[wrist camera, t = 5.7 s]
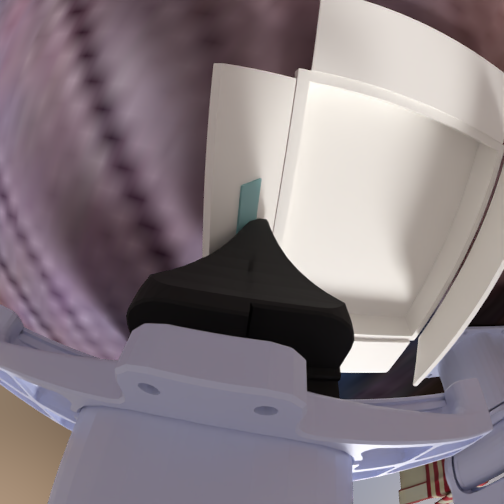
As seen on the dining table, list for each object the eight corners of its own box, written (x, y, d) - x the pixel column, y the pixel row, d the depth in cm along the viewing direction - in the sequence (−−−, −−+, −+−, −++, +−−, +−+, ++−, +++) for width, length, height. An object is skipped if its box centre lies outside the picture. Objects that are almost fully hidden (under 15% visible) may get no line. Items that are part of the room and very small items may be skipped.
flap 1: (224, 63, 6) (213, 63, 6) (209, 376, 14) (204, 372, 14) (298, 79, 9) (289, 77, 9) (256, 329, 17) (251, 326, 17)
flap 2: (505, 155, 9) (509, 157, 9) (418, 337, 17) (421, 339, 17) (537, 171, 6) (542, 174, 6) (412, 384, 14) (416, 386, 14)
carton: (492, 79, 9) (518, 84, 7) (385, 349, 22) (391, 372, 20) (304, 3, 9) (309, -13, 7) (251, 340, 22) (249, 365, 20)
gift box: (375, 437, 36) (382, 522, 22) (458, 384, 26) (484, 491, 12) (431, 434, 38) (441, 502, 24) (500, 386, 29) (522, 463, 14)
